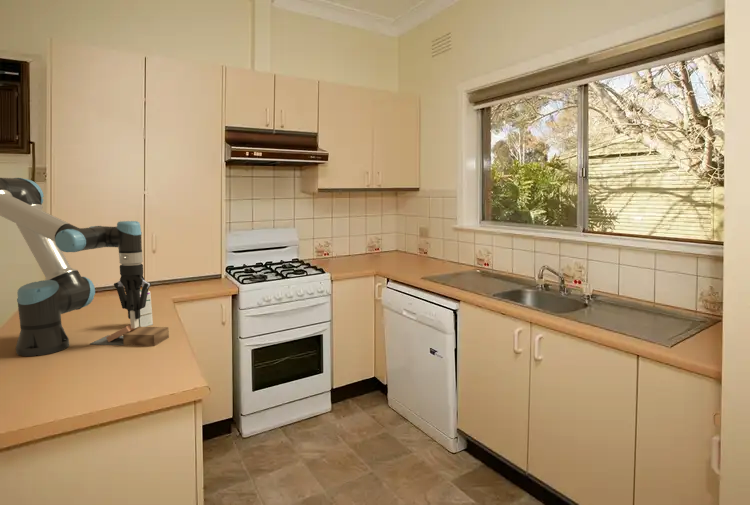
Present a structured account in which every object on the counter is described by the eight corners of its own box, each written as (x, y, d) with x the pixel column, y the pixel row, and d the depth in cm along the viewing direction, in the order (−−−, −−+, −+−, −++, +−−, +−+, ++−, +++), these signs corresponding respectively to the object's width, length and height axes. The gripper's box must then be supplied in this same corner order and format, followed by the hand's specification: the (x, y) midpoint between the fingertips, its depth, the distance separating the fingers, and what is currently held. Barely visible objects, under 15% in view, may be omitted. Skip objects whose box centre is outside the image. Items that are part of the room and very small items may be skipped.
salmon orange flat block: (108, 342, 170) (105, 337, 170) (118, 337, 176) (116, 332, 176) (128, 331, 169) (126, 326, 169) (138, 326, 175) (135, 322, 174)
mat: (89, 344, 168) (89, 343, 168) (107, 336, 178) (107, 335, 178) (124, 345, 167) (124, 344, 167) (140, 336, 177) (140, 336, 177)
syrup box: (153, 324, 194) (151, 290, 192) (139, 328, 189) (137, 293, 187) (145, 322, 197) (143, 289, 195) (131, 326, 192) (129, 291, 190)
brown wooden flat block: (123, 345, 167) (123, 334, 167) (139, 336, 177) (138, 326, 177) (154, 345, 167) (153, 335, 166) (168, 337, 176) (168, 327, 176)
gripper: (107, 265, 165) (111, 329, 168) (142, 265, 164) (146, 330, 167) (120, 262, 173) (124, 324, 176) (154, 262, 172) (157, 325, 175)
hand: (134, 327), depth 172 cm, fingers closed
